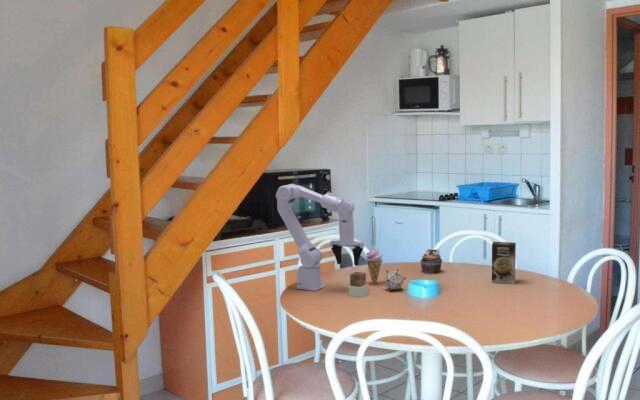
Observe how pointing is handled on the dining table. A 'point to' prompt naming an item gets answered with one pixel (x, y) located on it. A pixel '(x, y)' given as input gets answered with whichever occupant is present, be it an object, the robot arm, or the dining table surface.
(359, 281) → the walnut cube
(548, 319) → the dining table surface
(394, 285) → the game die
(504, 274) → the coffee box
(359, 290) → the base block
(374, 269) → the ice cream cone
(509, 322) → the dining table surface
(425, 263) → the cupcake
